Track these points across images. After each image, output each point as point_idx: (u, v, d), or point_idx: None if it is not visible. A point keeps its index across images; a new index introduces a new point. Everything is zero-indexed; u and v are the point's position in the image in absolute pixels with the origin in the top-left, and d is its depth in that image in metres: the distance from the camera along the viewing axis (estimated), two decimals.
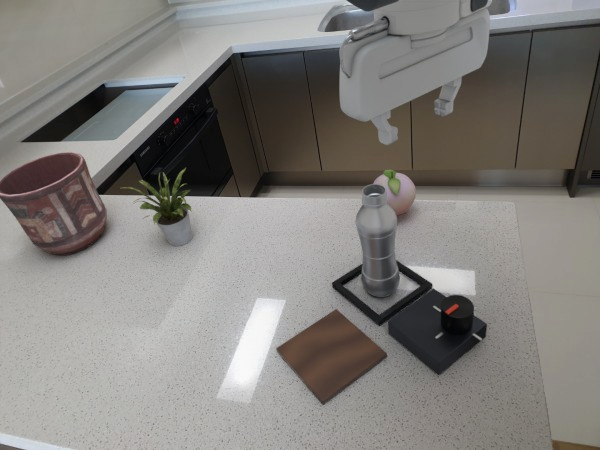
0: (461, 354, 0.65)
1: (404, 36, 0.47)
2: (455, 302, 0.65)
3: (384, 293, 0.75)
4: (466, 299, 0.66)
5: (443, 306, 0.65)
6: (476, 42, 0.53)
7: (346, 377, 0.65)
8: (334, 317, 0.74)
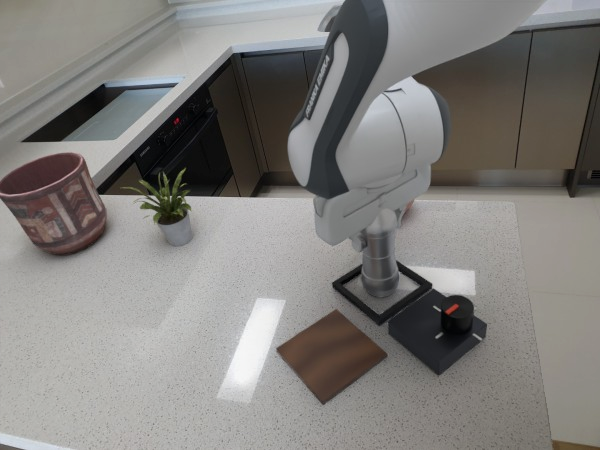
0: (461, 354, 0.65)
1: (361, 186, 0.63)
2: (455, 302, 0.65)
3: (384, 293, 0.75)
4: (466, 299, 0.66)
5: (443, 306, 0.65)
6: (421, 177, 0.69)
7: (346, 377, 0.65)
8: (334, 317, 0.74)
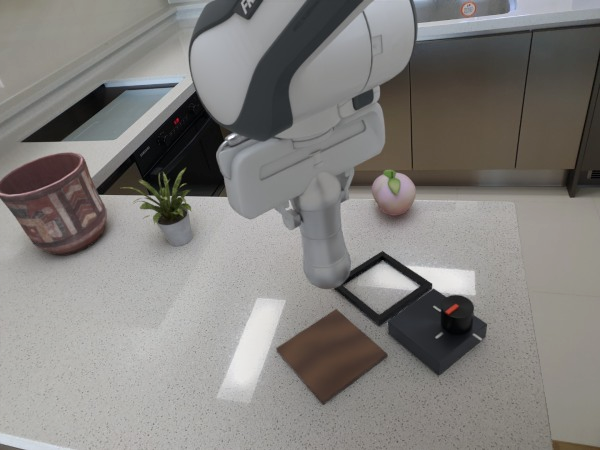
0: (461, 354, 0.65)
1: (284, 138, 0.47)
2: (455, 302, 0.65)
3: (330, 285, 0.59)
4: (466, 299, 0.66)
5: (443, 306, 0.65)
6: (371, 132, 0.53)
7: (346, 377, 0.65)
8: (334, 317, 0.74)
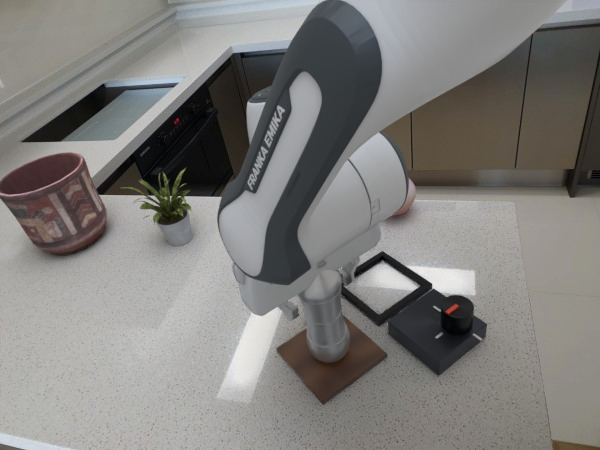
0: (461, 354, 0.65)
1: None
2: (455, 302, 0.65)
3: (331, 360, 0.66)
4: (466, 299, 0.66)
5: (443, 306, 0.65)
6: (368, 231, 0.60)
7: (346, 377, 0.65)
8: None
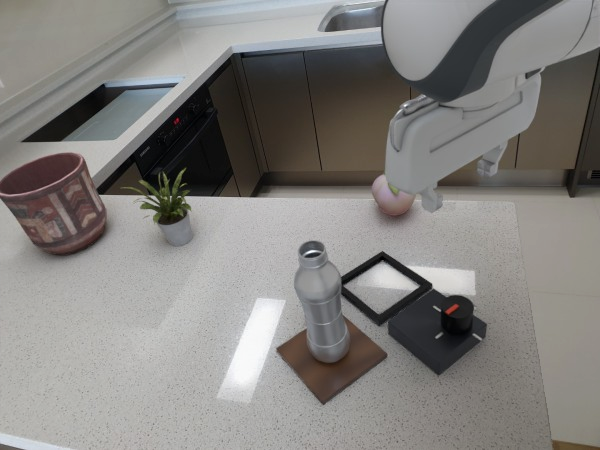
0: (461, 354, 0.65)
1: (456, 108, 0.44)
2: (455, 302, 0.65)
3: (331, 360, 0.66)
4: (466, 299, 0.66)
5: (443, 306, 0.65)
6: (526, 105, 0.50)
7: (346, 377, 0.65)
8: None
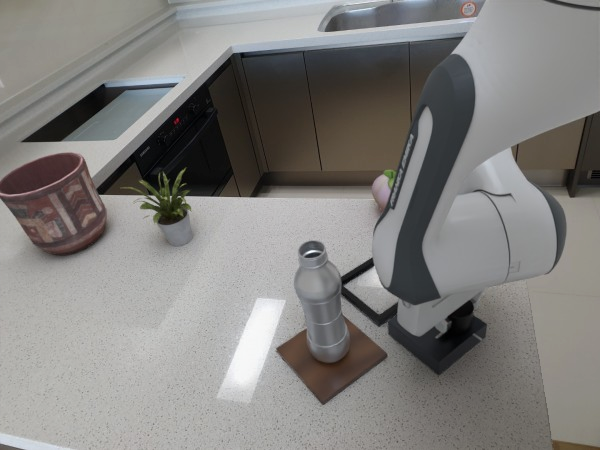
0: (461, 354, 0.65)
1: None
2: None
3: (331, 360, 0.66)
4: None
5: None
6: None
7: (346, 377, 0.65)
8: None
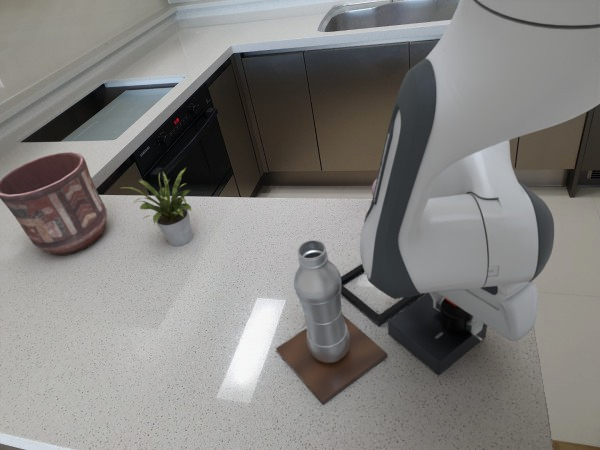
0: (461, 354, 0.65)
1: None
2: None
3: (331, 360, 0.66)
4: (467, 313, 0.63)
5: None
6: (503, 318, 0.55)
7: (346, 377, 0.65)
8: None
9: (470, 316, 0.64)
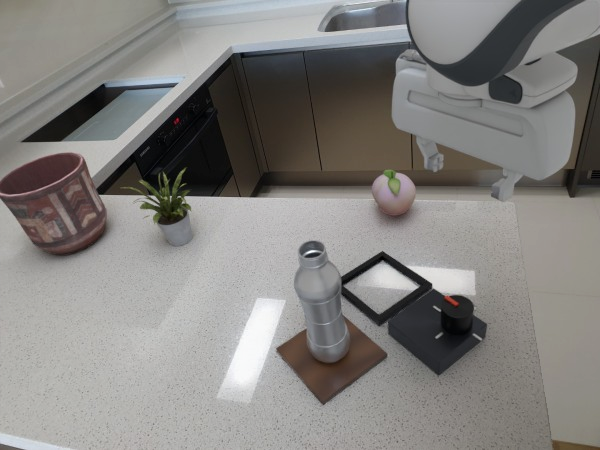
0: (461, 354, 0.65)
1: None
2: (462, 305, 0.65)
3: (331, 360, 0.66)
4: (467, 313, 0.63)
5: (454, 296, 0.66)
6: (528, 145, 0.42)
7: (346, 377, 0.65)
8: None
9: (470, 316, 0.64)
